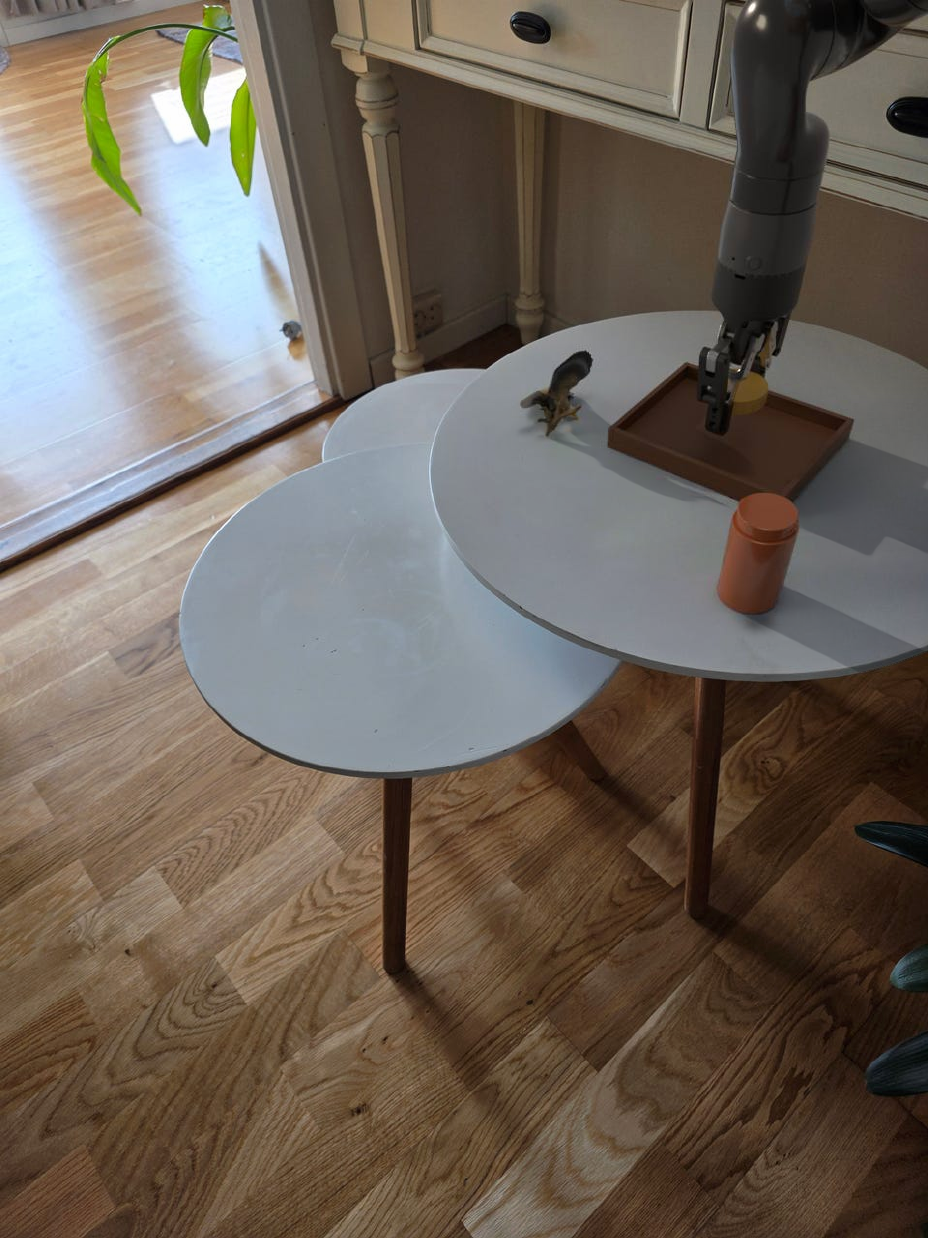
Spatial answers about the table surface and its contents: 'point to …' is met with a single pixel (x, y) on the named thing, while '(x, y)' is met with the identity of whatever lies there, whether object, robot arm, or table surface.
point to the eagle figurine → (560, 390)
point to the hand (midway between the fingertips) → (731, 415)
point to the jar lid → (750, 394)
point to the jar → (758, 552)
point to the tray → (730, 440)
